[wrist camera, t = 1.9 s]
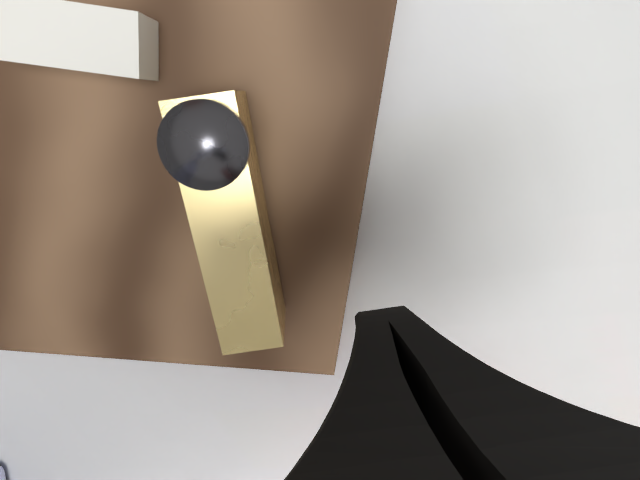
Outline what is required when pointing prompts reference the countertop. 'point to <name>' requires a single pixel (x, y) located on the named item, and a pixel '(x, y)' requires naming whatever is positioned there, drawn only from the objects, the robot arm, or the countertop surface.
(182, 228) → the plate
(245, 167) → the bar
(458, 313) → the countertop surface
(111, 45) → the white rectangular block
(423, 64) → the countertop surface
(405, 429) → the robot arm
